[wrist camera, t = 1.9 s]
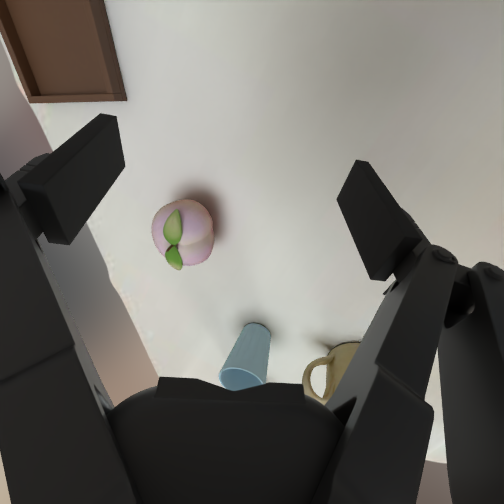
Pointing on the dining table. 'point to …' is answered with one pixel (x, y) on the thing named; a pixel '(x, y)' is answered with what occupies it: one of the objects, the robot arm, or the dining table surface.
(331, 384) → the sugar bowl
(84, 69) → the tray
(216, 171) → the dining table surface
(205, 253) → the decorative fruit
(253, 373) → the cup
